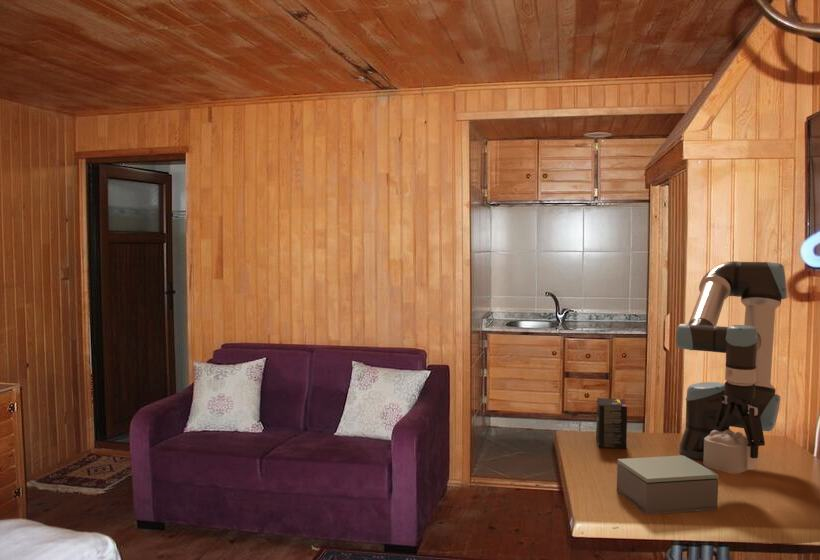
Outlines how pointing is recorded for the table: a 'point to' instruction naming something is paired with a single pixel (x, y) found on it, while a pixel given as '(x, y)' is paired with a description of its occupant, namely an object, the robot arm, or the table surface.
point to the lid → (667, 469)
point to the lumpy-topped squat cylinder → (725, 451)
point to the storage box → (667, 493)
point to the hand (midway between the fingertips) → (737, 461)
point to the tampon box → (611, 423)
